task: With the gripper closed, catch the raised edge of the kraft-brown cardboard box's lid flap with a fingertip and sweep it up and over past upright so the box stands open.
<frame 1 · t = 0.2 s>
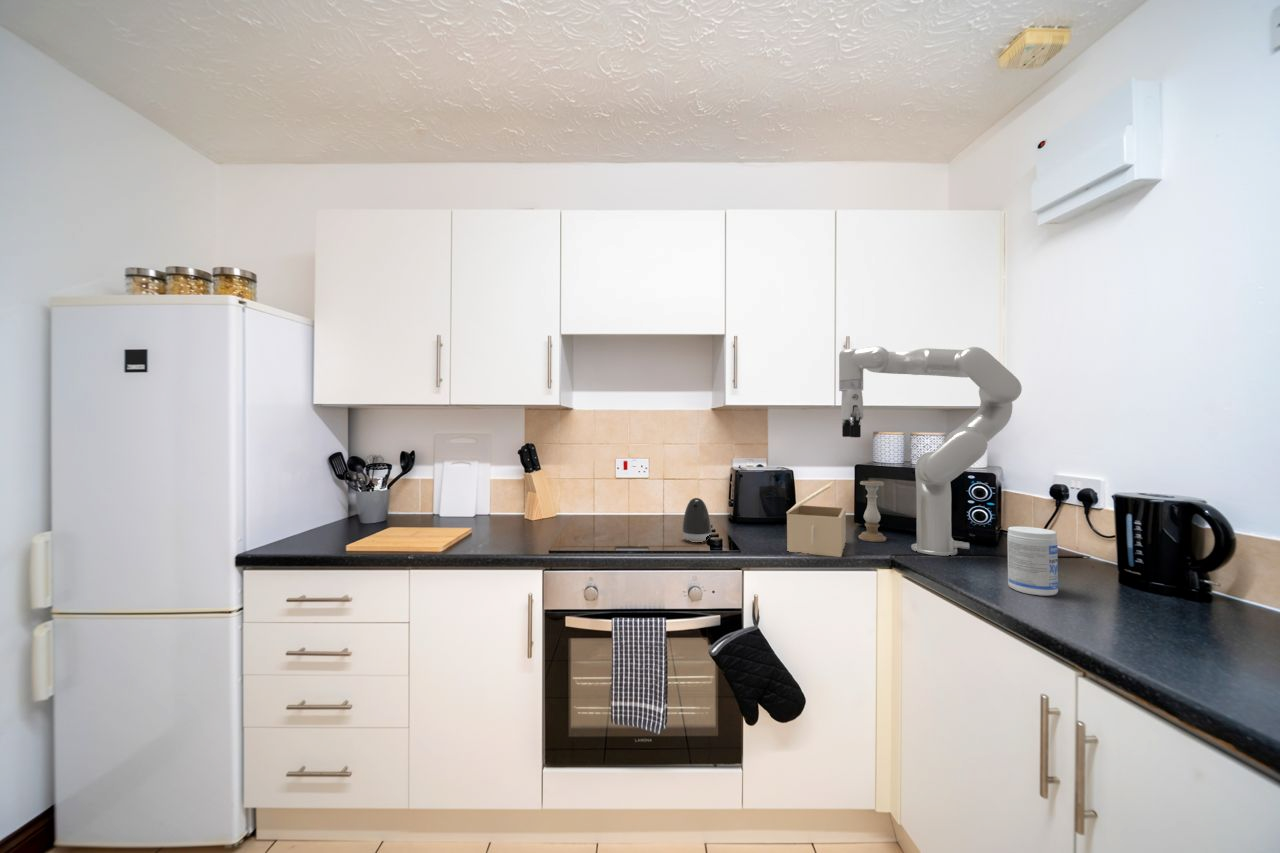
hand: (851, 437, 166), 36 cm above the counter, tool pointing down, fingers open, 9 cm apart
carton: (817, 547, 163), on the counter
dark grey domed cylinder: (696, 541, 172), on the counter
candle holder: (872, 539, 174), on the counter
supplement tub: (1032, 591, 119), on the counter
lid flap: (812, 496, 164), point 17 cm above the counter, hinge at 35.0°, touching carton
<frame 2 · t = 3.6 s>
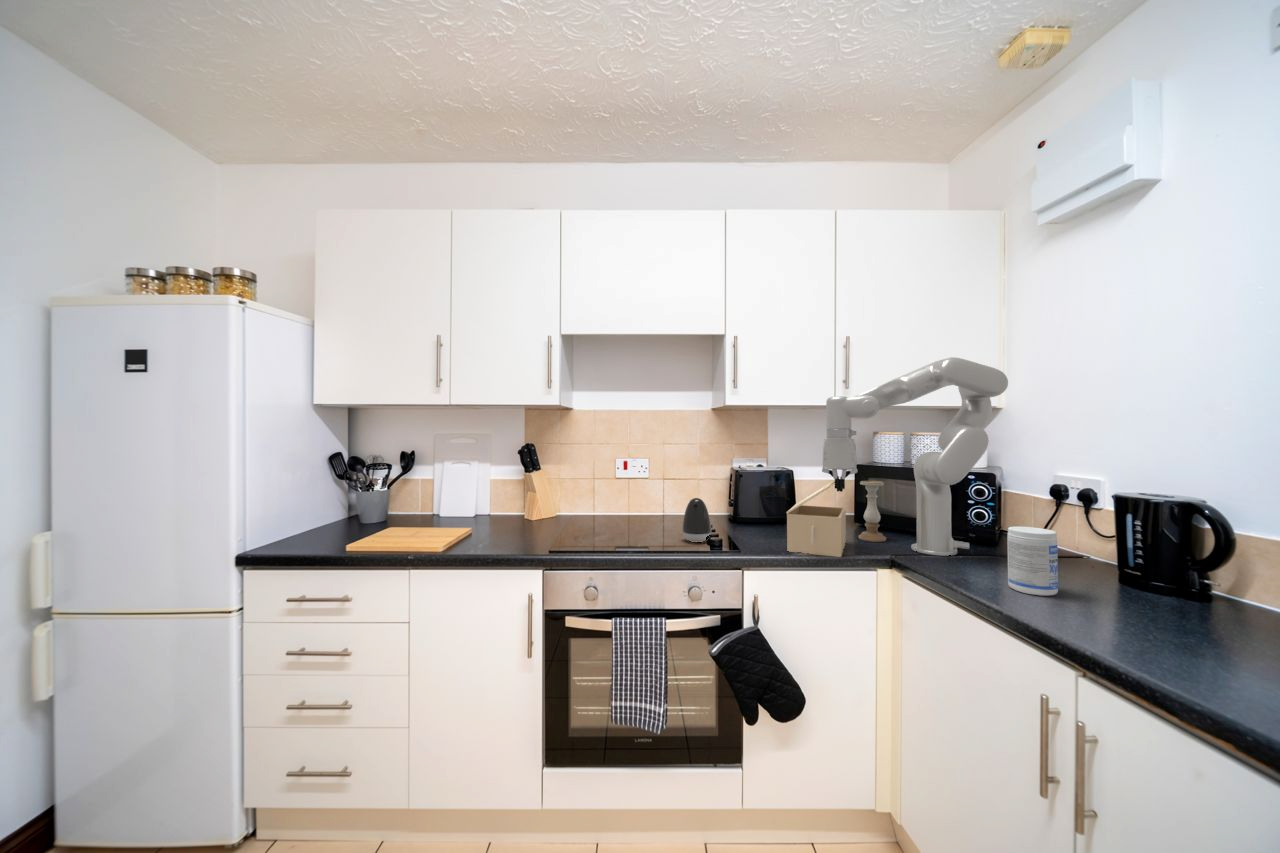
hand: (839, 490, 160), 19 cm above the counter, tool pointing down, fingers closed
lid flap: (811, 496, 164), point 17 cm above the counter, hinge at 35.2°, touching gripper
everything else where it was.
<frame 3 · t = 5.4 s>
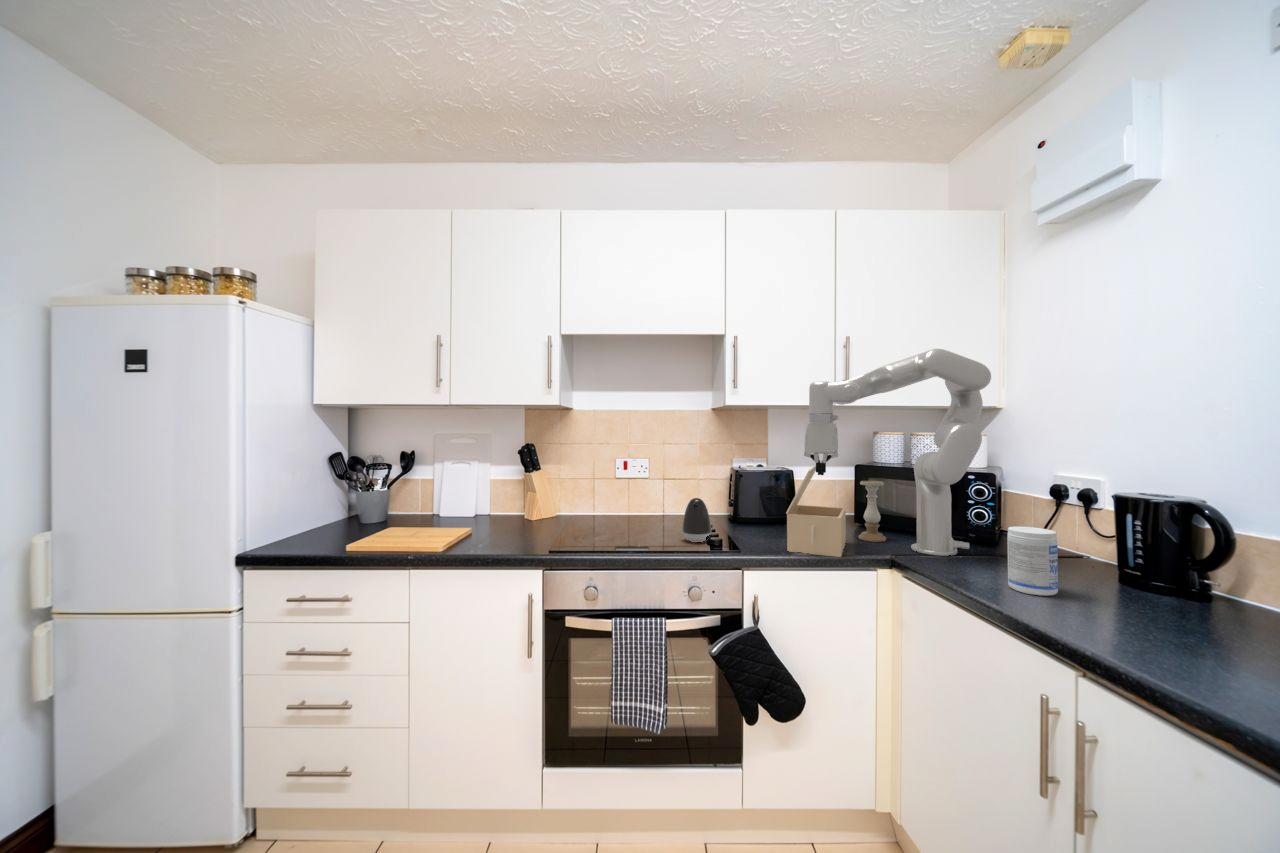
hand: (820, 474, 163), 24 cm above the counter, tool pointing down, fingers closed
lid flap: (802, 488, 165), point 19 cm above the counter, hinge at 62.9°, touching gripper
everything else where it was.
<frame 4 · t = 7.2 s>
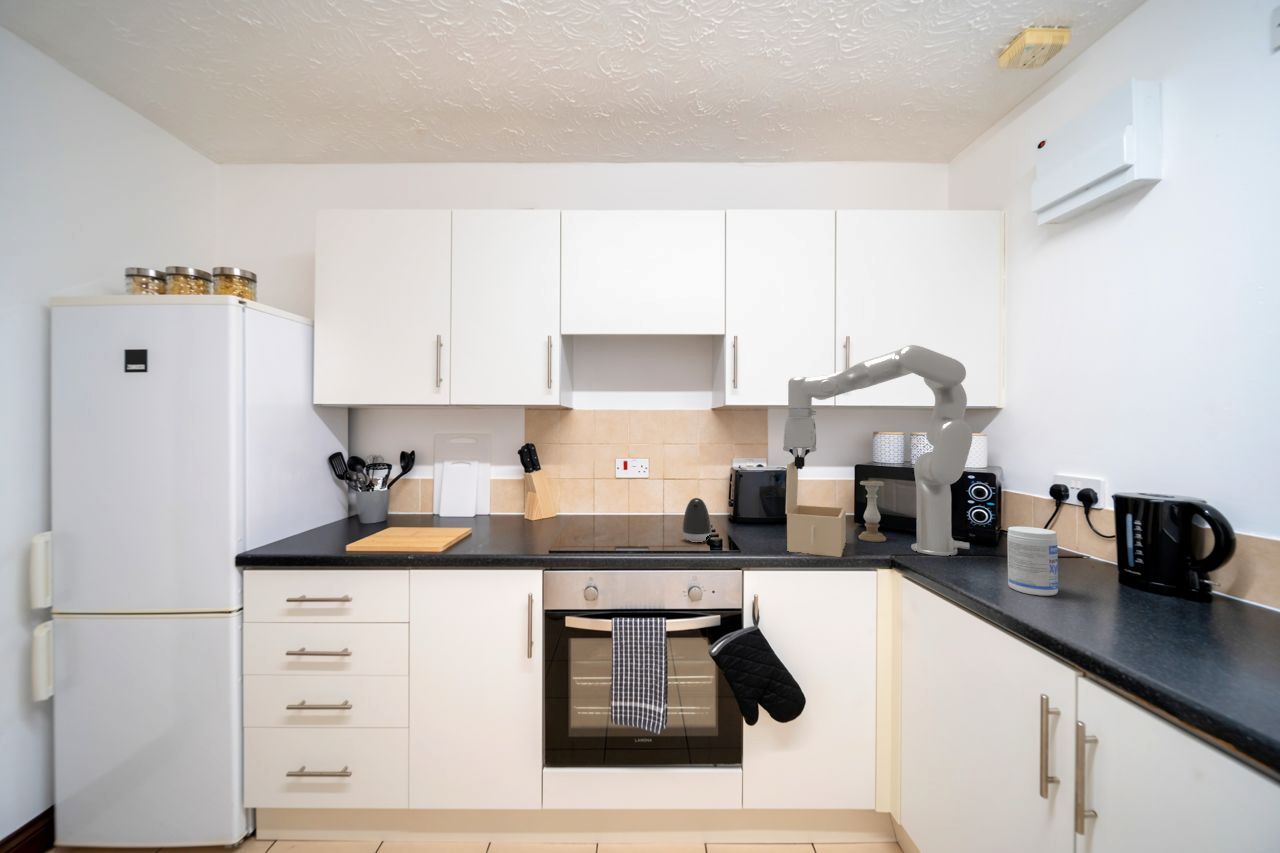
hand: (799, 468, 166), 26 cm above the counter, tool pointing down, fingers closed
lid flap: (792, 485, 167), point 20 cm above the counter, hinge at 87.9°, touching gripper
everything else where it was.
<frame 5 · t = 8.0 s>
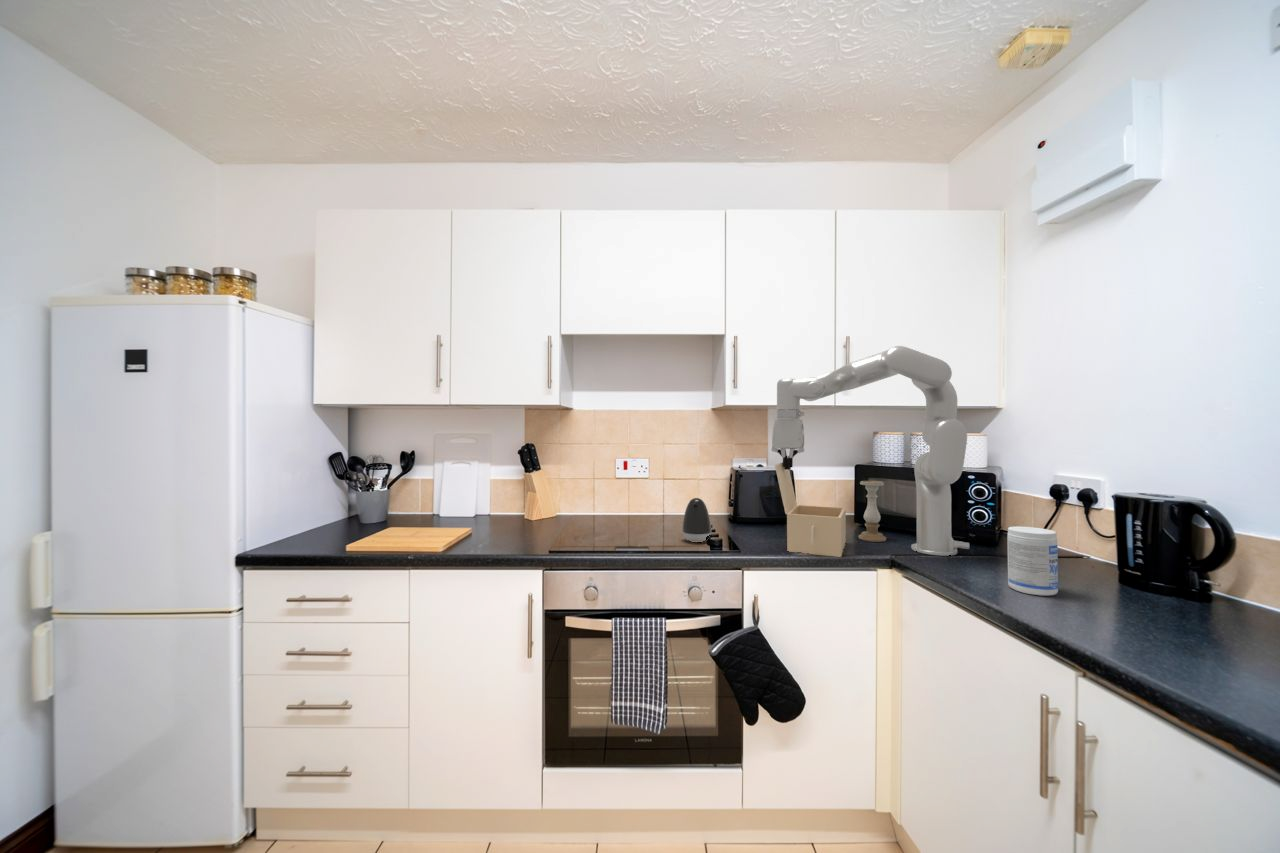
hand: (787, 469, 167), 25 cm above the counter, tool pointing down, fingers closed
lid flap: (786, 486, 168), point 20 cm above the counter, hinge at 101.8°, touching carton, gripper
everything else where it was.
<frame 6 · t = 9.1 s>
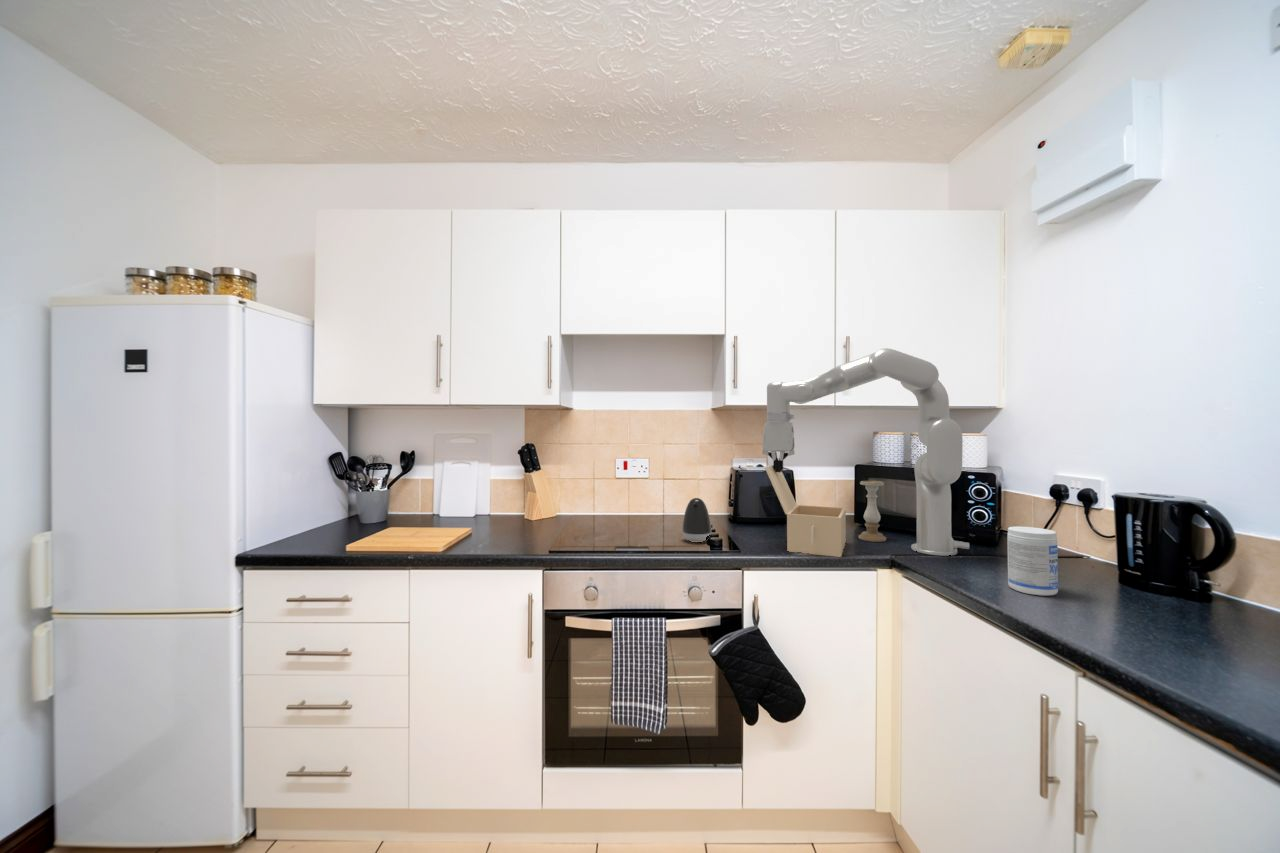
hand: (778, 471, 169), 24 cm above the counter, tool pointing down, fingers closed
lid flap: (781, 487, 168), point 19 cm above the counter, hinge at 113.8°, touching carton, gripper
everything else where it was.
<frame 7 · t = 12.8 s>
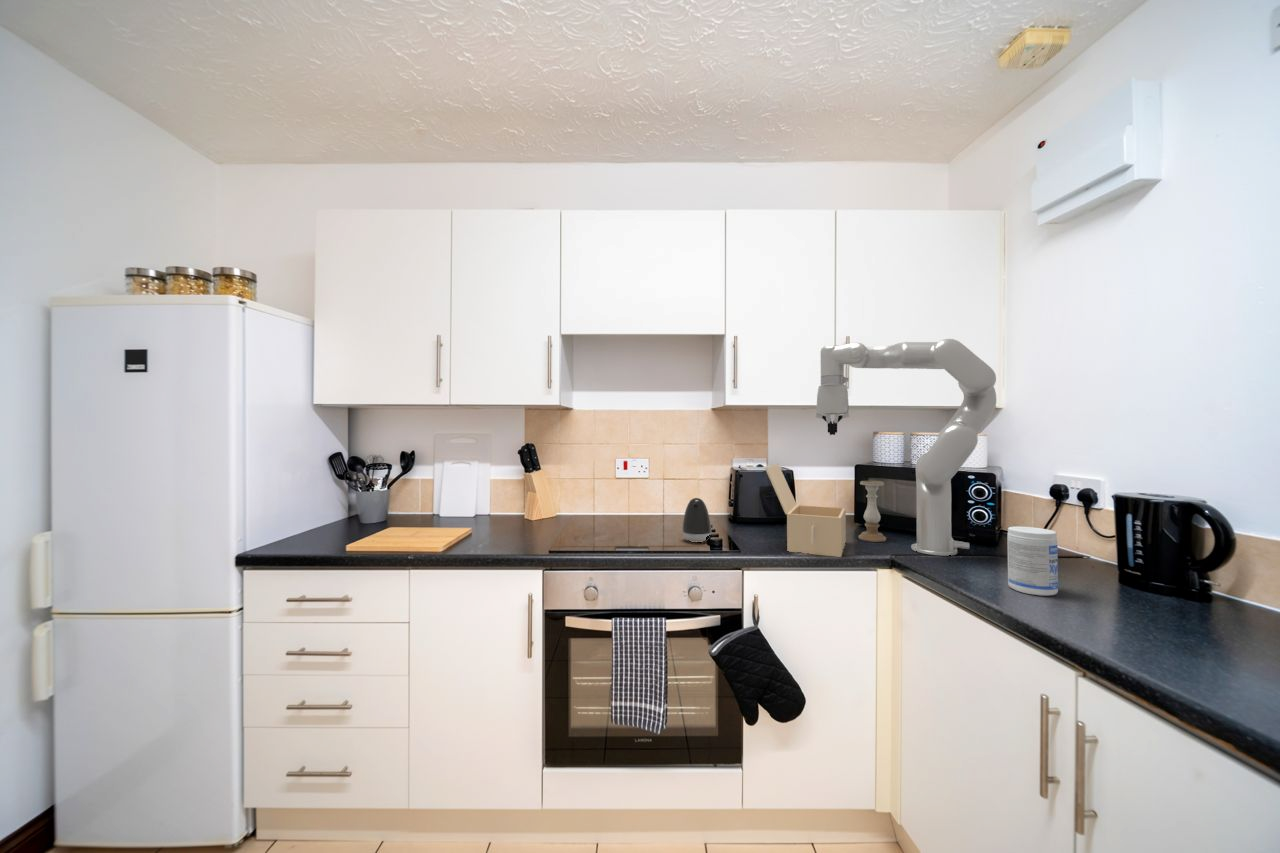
hand: (832, 434, 170), 37 cm above the counter, tool pointing down, fingers closed
lid flap: (781, 487, 168), point 19 cm above the counter, hinge at 113.9°, touching carton
everything else where it was.
at the end: lid flap at +114° (first picture: +35°); candle holder moved 0.2 cm from its start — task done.
